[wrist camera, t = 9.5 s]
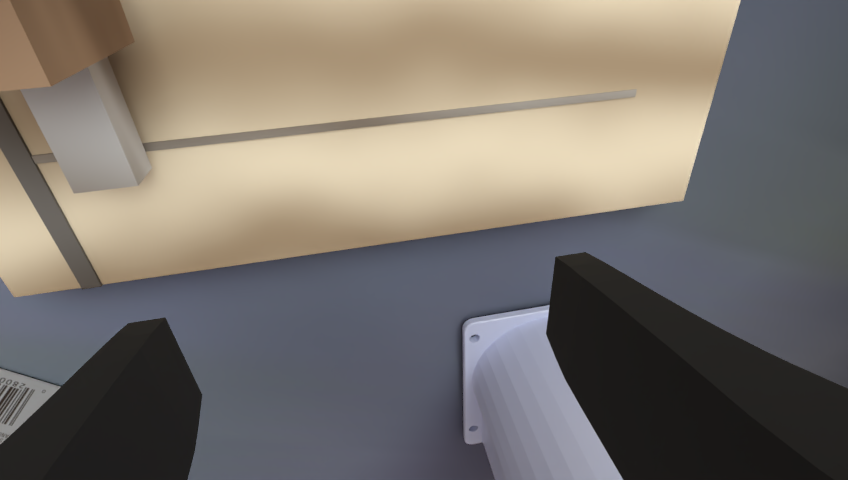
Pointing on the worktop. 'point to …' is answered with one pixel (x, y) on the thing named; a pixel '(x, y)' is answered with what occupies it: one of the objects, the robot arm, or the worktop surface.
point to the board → (364, 129)
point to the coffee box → (20, 400)
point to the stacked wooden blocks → (74, 86)
